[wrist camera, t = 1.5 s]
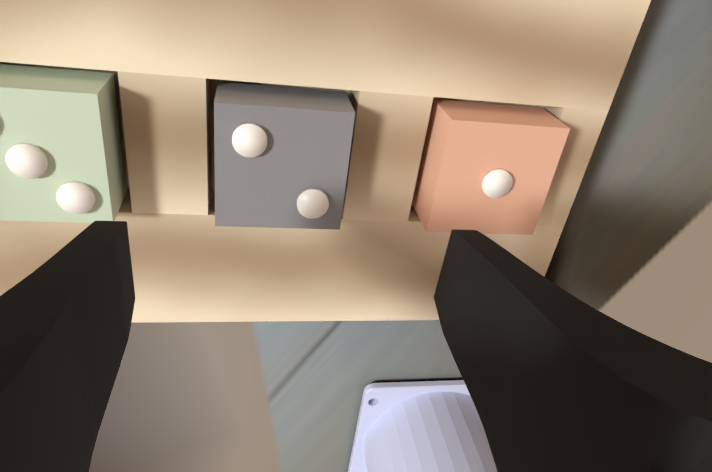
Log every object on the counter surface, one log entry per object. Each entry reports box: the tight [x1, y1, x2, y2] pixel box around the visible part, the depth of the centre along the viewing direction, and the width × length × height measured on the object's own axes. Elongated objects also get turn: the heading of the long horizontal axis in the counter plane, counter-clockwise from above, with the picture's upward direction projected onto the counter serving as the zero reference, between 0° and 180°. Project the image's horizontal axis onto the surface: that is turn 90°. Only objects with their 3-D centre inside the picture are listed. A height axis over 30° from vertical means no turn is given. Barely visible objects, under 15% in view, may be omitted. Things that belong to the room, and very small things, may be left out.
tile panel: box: [0, 0, 651, 322], centre depth 18 cm, size 14×22×2 cm, turn 83°
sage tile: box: [0, 64, 126, 223], centre depth 16 cm, size 4×4×2 cm
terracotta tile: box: [412, 99, 570, 235], centre depth 18 cm, size 4×4×2 cm
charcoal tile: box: [214, 82, 355, 230], centre depth 17 cm, size 4×4×2 cm
